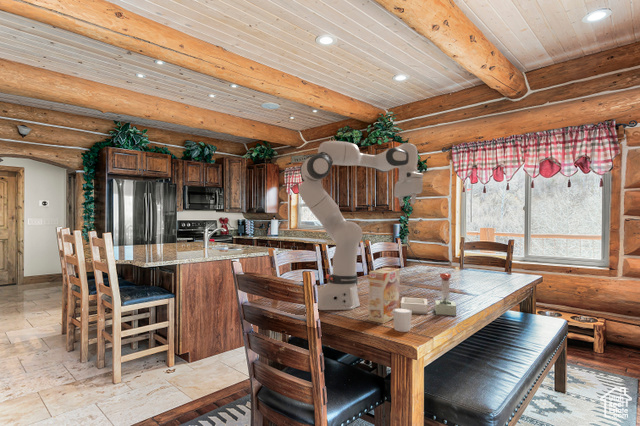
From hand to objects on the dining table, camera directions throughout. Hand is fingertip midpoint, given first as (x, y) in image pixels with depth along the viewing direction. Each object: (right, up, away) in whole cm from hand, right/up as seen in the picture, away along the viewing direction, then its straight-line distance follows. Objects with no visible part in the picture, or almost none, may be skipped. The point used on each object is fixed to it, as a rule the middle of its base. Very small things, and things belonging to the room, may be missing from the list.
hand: (407, 204), depth 172 cm
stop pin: (+12, -47, -20) cm, 52 cm away
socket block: (+12, -47, -20) cm, 52 cm away
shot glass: (-12, -47, -43) cm, 64 cm away
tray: (-1, -47, -16) cm, 49 cm away
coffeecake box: (-16, -47, -28) cm, 57 cm away
